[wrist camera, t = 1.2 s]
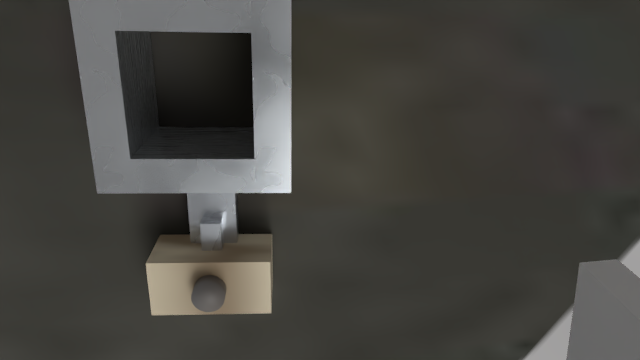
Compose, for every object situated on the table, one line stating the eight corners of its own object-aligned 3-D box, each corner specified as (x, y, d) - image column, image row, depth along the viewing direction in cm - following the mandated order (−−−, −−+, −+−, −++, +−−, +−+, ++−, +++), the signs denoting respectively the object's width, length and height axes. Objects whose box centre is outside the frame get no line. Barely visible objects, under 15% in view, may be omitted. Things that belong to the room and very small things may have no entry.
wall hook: (195, 249, 28) (189, 266, 26) (190, 182, 26) (183, 196, 25) (239, 248, 28) (236, 265, 26) (236, 182, 26) (233, 196, 25)
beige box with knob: (165, 282, 28) (147, 325, 25) (160, 234, 27) (141, 271, 24) (272, 281, 29) (270, 322, 25) (272, 234, 28) (269, 270, 24)
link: (132, 155, 26) (97, 193, 21) (112, -15, 23) (66, -14, 18) (290, 155, 26) (291, 192, 21) (290, -11, 23) (291, -9, 19)
